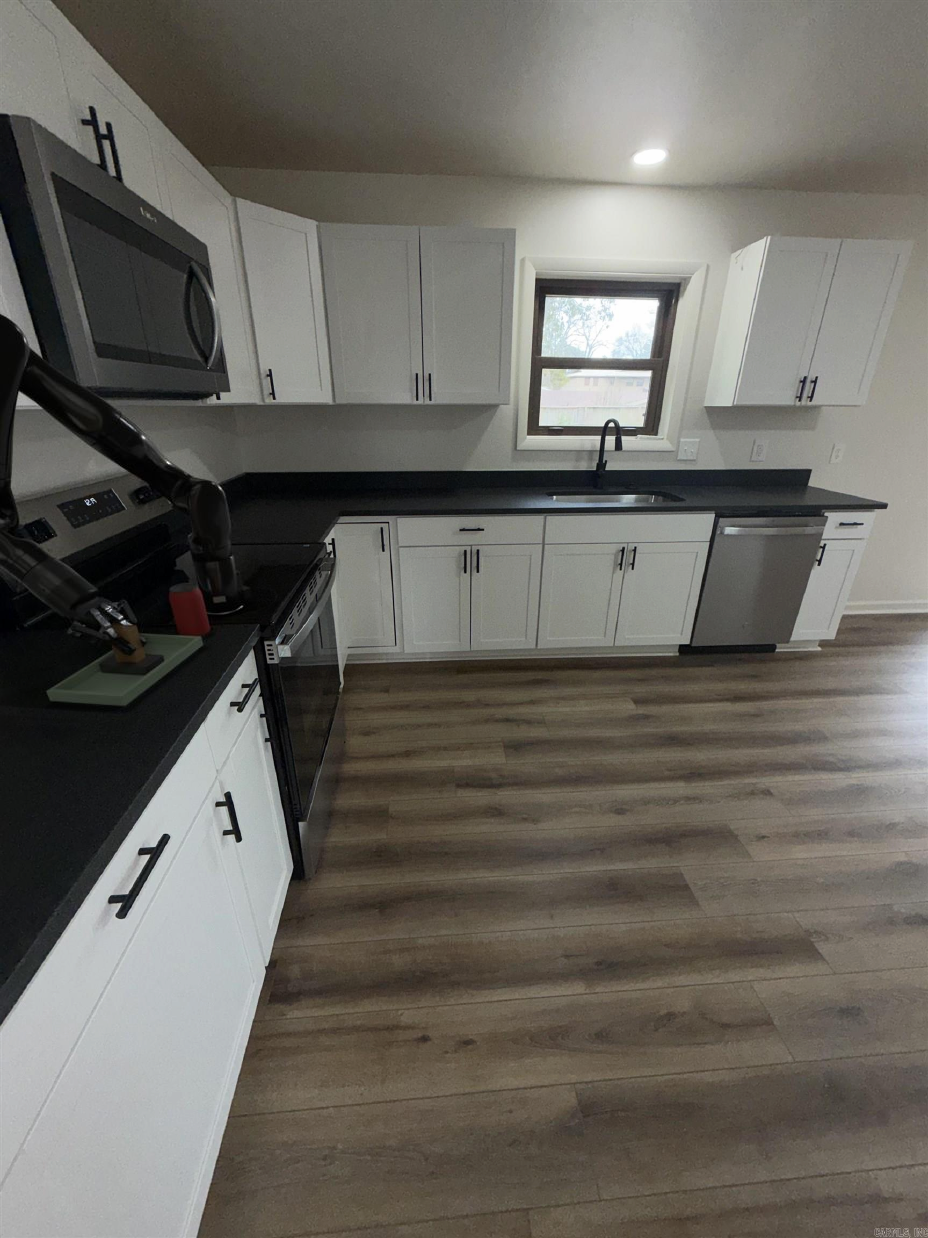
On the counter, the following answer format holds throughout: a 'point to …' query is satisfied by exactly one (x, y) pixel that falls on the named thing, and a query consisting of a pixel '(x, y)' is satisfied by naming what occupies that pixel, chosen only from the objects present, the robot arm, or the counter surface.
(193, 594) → the beer can
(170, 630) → the counter surface
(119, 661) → the eraser
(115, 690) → the tray
